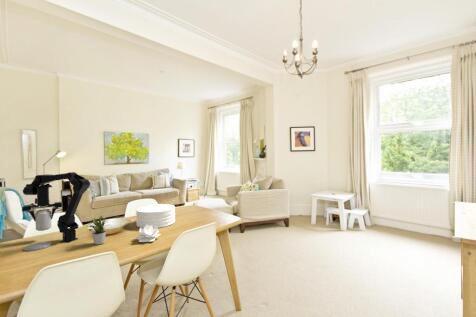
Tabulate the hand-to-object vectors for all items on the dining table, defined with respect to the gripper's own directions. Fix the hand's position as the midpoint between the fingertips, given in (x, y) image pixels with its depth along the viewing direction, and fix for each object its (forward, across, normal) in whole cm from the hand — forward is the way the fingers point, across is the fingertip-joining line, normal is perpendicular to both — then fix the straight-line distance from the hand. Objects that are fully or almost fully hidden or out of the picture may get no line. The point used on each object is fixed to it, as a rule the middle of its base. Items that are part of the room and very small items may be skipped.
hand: (43, 220), depth 145 cm
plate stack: (+13, -67, +5) cm, 68 cm away
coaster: (+12, +2, +12) cm, 17 cm away
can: (+6, 0, 0) cm, 6 cm away
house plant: (+12, -26, +26) cm, 39 cm away
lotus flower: (+13, -52, +38) cm, 66 cm away
